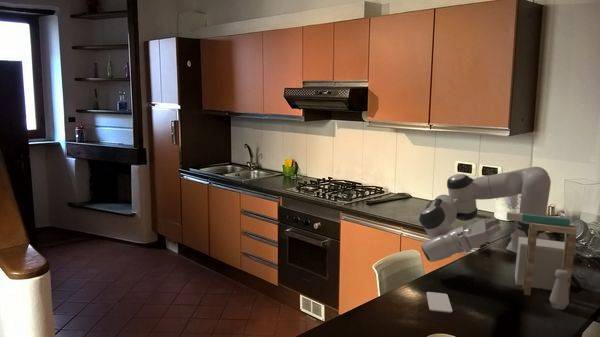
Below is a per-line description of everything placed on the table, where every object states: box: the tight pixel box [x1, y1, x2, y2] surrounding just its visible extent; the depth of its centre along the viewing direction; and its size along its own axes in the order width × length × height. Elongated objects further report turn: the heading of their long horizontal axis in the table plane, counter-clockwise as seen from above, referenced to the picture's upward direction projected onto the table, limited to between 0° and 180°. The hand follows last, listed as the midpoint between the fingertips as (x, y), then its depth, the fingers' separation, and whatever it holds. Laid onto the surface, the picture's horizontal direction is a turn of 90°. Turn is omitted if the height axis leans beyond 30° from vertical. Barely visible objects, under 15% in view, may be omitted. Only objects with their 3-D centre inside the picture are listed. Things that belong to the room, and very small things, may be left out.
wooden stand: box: [522, 222, 578, 297], centre depth 174 cm, size 7×14×26 cm, turn 70°
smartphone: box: [426, 291, 453, 314], centre depth 166 cm, size 7×1×15 cm
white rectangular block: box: [514, 237, 565, 291], centre depth 184 cm, size 10×16×16 cm, turn 70°
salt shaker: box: [548, 269, 570, 311], centre depth 164 cm, size 6×6×13 cm
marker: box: [506, 211, 571, 226], centre depth 173 cm, size 2×20×2 cm, turn 70°
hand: (499, 224), depth 177 cm, fingers open, 8 cm apart
